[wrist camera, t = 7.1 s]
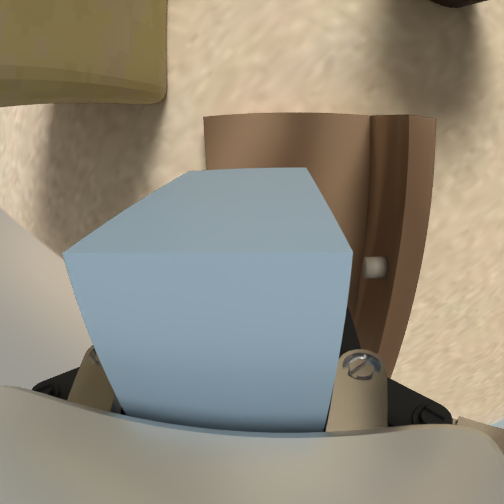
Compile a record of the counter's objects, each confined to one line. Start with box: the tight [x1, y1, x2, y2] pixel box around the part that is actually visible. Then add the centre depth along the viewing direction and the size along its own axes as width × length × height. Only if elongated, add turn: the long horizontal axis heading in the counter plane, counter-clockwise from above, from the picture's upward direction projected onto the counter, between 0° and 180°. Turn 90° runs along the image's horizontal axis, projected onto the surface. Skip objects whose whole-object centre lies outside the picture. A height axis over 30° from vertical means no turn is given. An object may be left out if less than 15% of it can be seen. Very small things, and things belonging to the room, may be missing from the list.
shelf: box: [203, 113, 436, 378], centre depth 16 cm, size 10×14×7 cm
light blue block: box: [63, 168, 353, 433], centre depth 9 cm, size 4×10×7 cm, turn 2°
